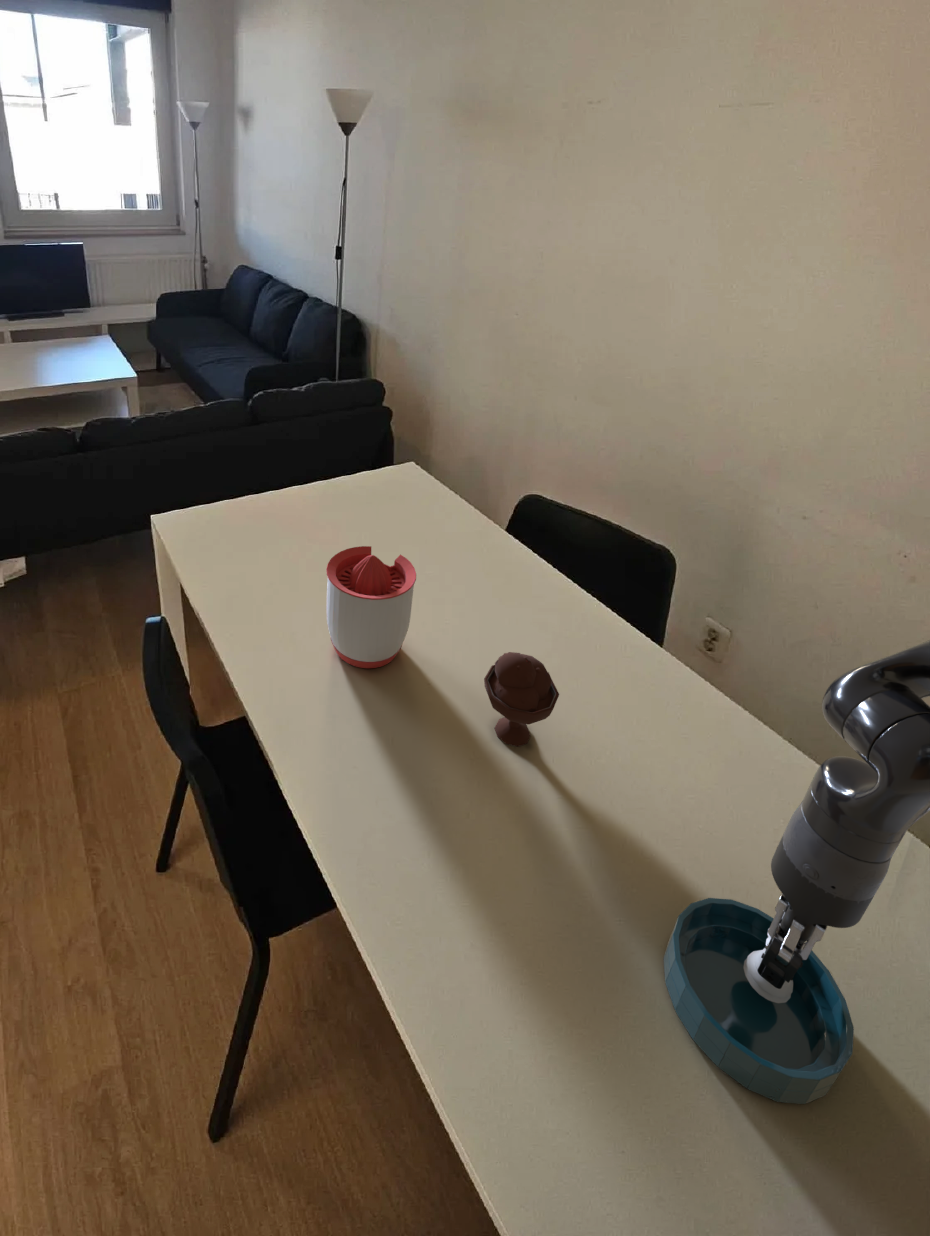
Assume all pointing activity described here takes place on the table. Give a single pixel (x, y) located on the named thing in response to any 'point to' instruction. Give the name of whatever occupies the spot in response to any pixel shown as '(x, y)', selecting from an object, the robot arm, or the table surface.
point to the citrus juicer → (368, 606)
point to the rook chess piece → (760, 983)
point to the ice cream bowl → (519, 695)
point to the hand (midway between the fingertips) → (775, 964)
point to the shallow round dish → (755, 1005)
